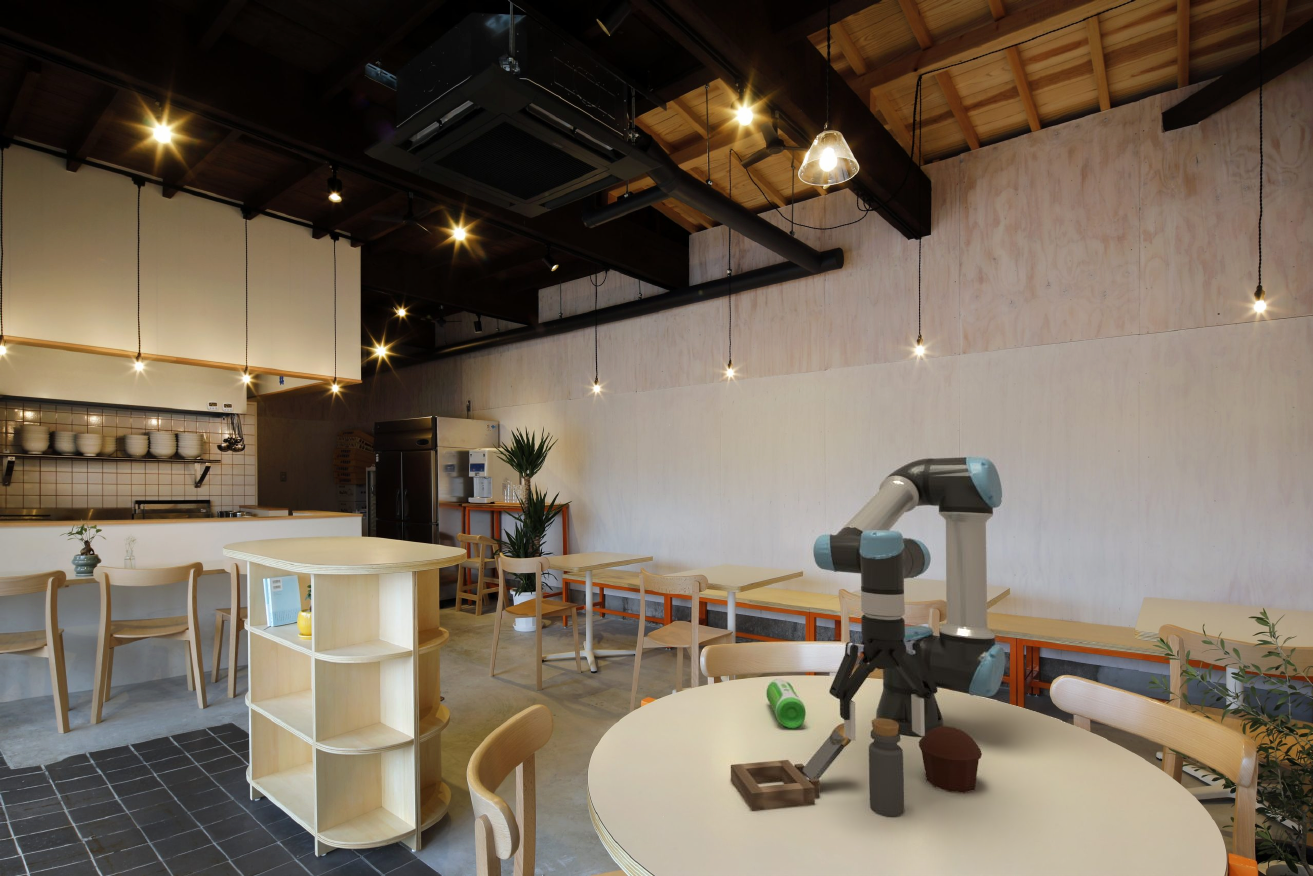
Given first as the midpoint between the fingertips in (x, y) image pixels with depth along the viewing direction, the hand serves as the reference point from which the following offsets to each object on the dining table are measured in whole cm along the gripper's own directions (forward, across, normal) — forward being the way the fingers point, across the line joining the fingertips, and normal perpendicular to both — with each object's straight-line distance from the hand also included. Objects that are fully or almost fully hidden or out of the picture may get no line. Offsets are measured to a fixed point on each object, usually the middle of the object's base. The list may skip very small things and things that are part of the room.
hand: (884, 735), depth 116 cm
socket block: (+13, +18, -10) cm, 24 cm away
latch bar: (+7, +6, -10) cm, 14 cm away
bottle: (+13, 0, 0) cm, 13 cm away
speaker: (+13, -1, -47) cm, 49 cm away
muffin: (+13, -18, -7) cm, 24 cm away
